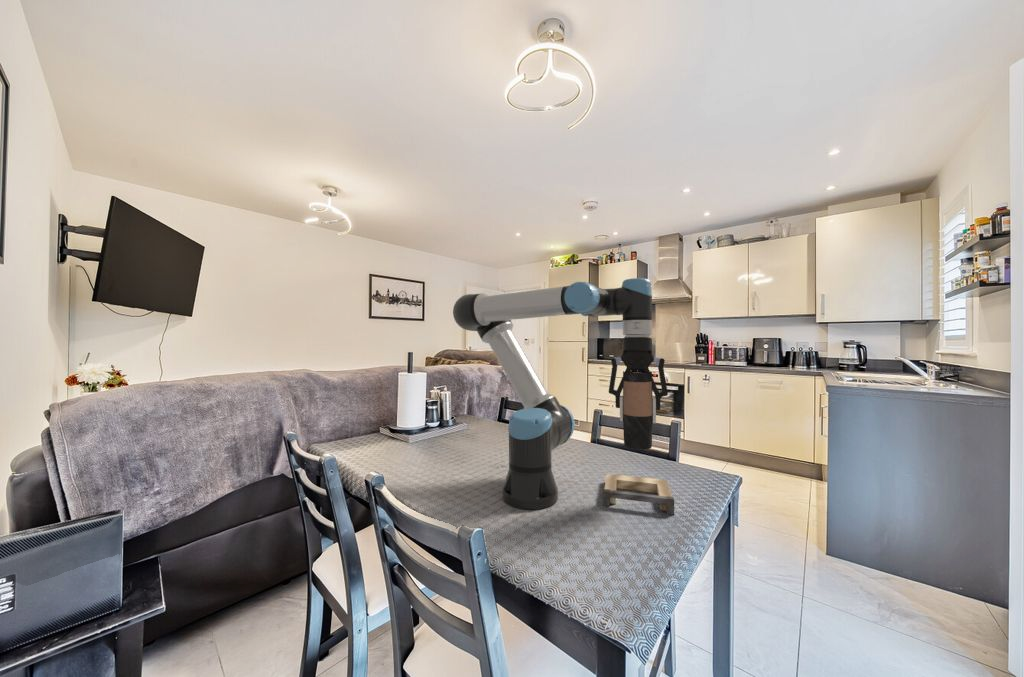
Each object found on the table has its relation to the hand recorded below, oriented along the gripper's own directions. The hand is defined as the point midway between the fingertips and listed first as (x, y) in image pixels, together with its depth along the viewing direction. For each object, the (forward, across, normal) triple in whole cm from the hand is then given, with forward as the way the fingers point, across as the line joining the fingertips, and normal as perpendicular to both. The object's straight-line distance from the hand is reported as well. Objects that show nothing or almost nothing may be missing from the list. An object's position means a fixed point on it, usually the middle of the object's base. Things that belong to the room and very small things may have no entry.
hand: (637, 421), depth 100 cm
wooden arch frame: (+21, 0, +2) cm, 21 cm away
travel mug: (+7, 0, 0) cm, 7 cm away
